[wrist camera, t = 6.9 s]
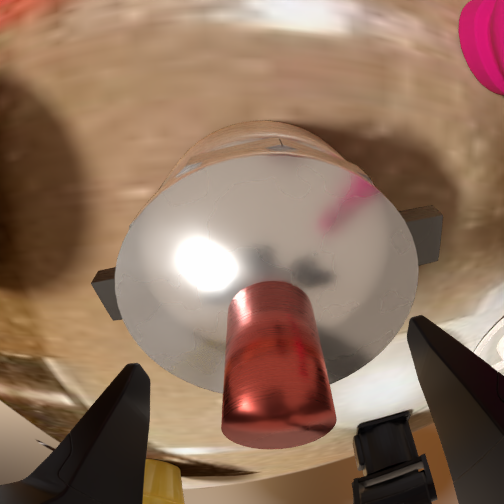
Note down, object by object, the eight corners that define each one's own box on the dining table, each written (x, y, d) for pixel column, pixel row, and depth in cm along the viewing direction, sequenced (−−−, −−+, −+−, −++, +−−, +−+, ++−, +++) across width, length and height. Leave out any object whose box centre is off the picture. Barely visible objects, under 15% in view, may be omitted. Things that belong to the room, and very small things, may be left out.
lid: (398, 120, 9) (532, 192, 4) (390, 344, 15) (428, 448, 10) (86, 187, 10) (-19, 297, 5) (184, 378, 16) (170, 484, 11)
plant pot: (115, 449, 36) (104, 506, 27) (183, 457, 36) (178, 520, 27) (138, 471, 41) (130, 520, 33) (197, 478, 41) (194, 529, 33)
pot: (393, 100, 14) (464, 123, 8) (397, 273, 19) (436, 342, 14) (95, 165, 15) (32, 216, 10) (162, 316, 21) (143, 391, 16)
